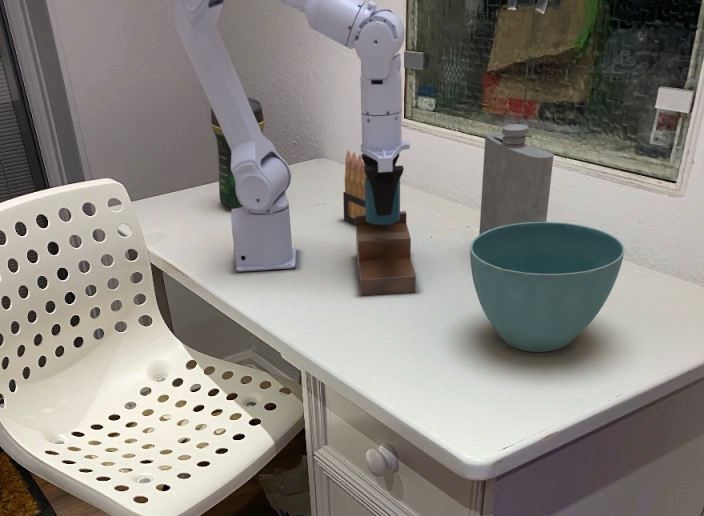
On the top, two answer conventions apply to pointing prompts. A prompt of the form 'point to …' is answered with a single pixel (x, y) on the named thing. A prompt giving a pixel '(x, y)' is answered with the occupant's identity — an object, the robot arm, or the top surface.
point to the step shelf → (384, 257)
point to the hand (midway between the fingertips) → (382, 208)
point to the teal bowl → (543, 280)
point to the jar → (371, 211)
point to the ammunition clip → (354, 188)
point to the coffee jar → (224, 155)
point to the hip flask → (514, 179)
